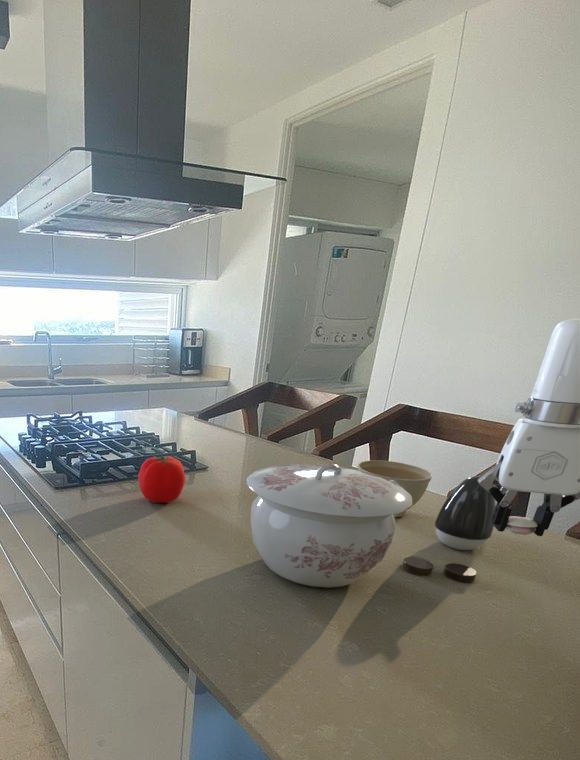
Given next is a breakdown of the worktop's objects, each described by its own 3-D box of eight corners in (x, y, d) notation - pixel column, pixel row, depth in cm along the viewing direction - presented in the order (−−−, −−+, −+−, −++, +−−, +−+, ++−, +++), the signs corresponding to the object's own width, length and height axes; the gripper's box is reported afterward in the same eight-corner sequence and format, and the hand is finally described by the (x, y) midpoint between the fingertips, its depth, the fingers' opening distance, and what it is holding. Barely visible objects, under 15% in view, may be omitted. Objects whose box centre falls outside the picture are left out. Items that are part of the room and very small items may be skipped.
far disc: (429, 566, 95) (431, 559, 94) (433, 577, 90) (435, 570, 90) (400, 561, 96) (402, 554, 96) (403, 572, 92) (405, 565, 91)
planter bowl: (394, 528, 112) (406, 483, 107) (335, 506, 124) (344, 465, 120) (434, 516, 119) (446, 473, 115) (374, 496, 132) (384, 457, 127)
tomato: (127, 501, 125) (128, 457, 120) (155, 488, 135) (156, 447, 130) (168, 511, 118) (170, 466, 114) (194, 497, 128) (197, 454, 124)
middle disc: (470, 572, 92) (472, 565, 92) (477, 585, 88) (479, 577, 88) (440, 568, 94) (442, 561, 93) (445, 579, 90) (448, 572, 89)
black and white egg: (493, 559, 98) (520, 487, 92) (435, 551, 101) (457, 481, 95) (478, 539, 107) (501, 472, 100) (425, 532, 110) (444, 467, 103)
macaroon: (514, 537, 74) (519, 522, 73) (489, 524, 79) (494, 510, 78) (540, 537, 75) (546, 522, 74) (515, 524, 79) (520, 510, 78)
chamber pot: (223, 588, 85) (236, 475, 77) (248, 531, 109) (260, 439, 100) (400, 624, 76) (437, 500, 68) (386, 553, 100) (412, 454, 91)
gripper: (497, 413, 69) (461, 532, 76) (649, 422, 63) (593, 548, 71) (482, 405, 75) (450, 515, 83) (619, 412, 70) (571, 529, 77)
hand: (517, 529), depth 77 cm, fingers closed on macaroon, 4 cm apart
